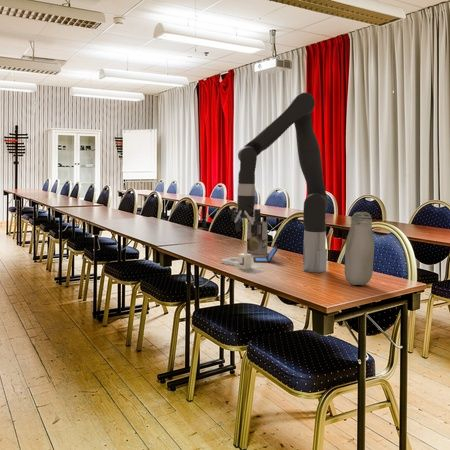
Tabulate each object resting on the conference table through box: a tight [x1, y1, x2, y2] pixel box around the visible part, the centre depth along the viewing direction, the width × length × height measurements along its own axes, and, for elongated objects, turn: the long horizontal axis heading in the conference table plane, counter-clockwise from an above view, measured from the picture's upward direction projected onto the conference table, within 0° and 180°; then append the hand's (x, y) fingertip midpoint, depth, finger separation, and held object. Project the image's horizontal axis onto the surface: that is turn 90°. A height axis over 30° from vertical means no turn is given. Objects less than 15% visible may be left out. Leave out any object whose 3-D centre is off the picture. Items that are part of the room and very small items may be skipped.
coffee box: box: [246, 220, 269, 255], centre depth 250 cm, size 9×6×16 cm
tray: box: [220, 256, 238, 267], centre depth 220 cm, size 9×9×2 cm
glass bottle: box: [344, 211, 375, 286], centre depth 184 cm, size 10×10×28 cm
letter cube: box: [237, 252, 253, 270], centre depth 209 cm, size 4×4×6 cm
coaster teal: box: [235, 266, 254, 271], centre depth 210 cm, size 6×6×1 cm
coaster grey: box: [245, 268, 265, 274], centre depth 204 cm, size 6×6×1 cm
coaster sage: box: [251, 263, 265, 269], centre depth 214 cm, size 6×6×1 cm
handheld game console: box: [252, 244, 278, 264], centre depth 228 cm, size 12×11×7 cm
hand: (245, 232), depth 208 cm, fingers open, 8 cm apart
